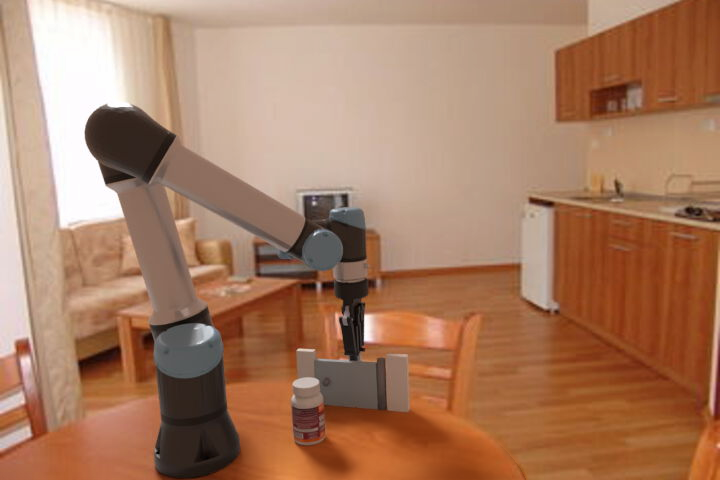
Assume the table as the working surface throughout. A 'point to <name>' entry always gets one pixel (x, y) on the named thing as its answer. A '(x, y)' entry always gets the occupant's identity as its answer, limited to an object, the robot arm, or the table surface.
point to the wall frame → (394, 374)
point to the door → (353, 383)
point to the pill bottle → (307, 412)
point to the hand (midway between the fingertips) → (356, 381)
